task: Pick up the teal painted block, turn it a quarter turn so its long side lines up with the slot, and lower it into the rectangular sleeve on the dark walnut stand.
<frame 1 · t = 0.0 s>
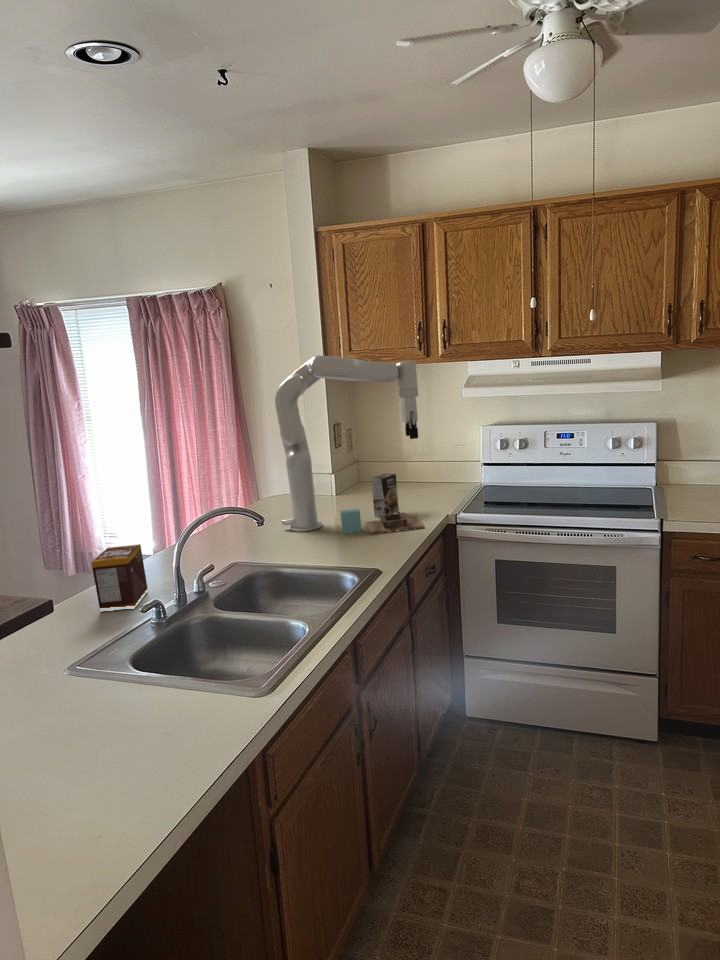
hand: (412, 437, 282), 31 cm above the countertop, tool pointing down, fingers open, 9 cm apart
keyed block: (352, 531, 272), on the countertop
coffee box: (387, 515, 293), on the countertop
supplement box: (125, 602, 217), on the countertop
keyed holder: (393, 526, 273), on the countertop
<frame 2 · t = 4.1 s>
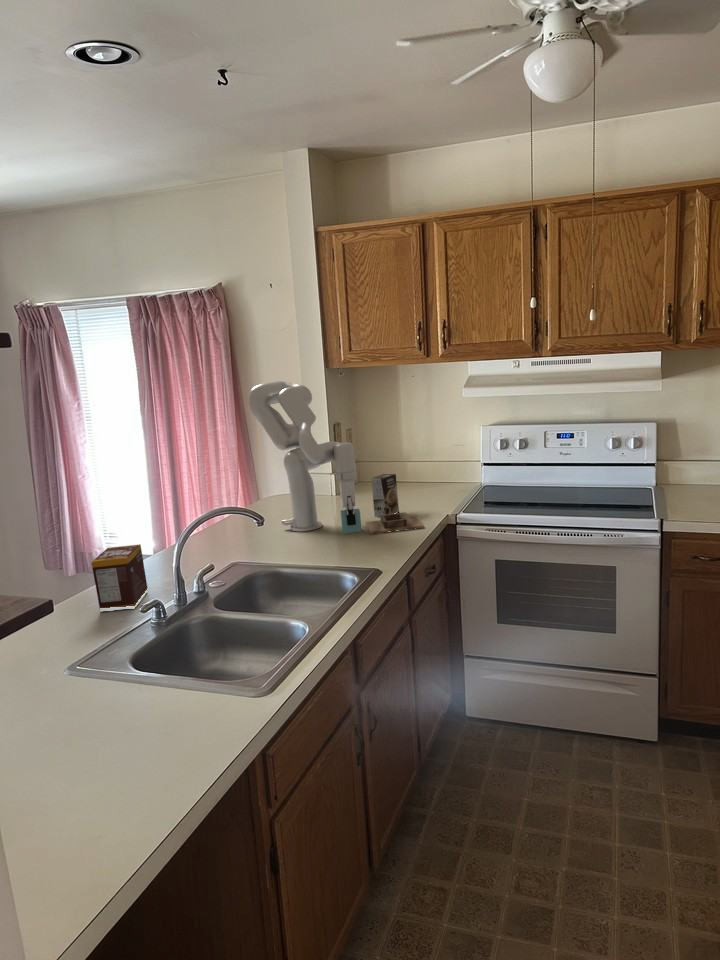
hand: (351, 522, 272), 3 cm above the countertop, tool pointing down, fingers closed on keyed block, 4 cm apart
keyed block: (352, 531, 272), on the countertop, touching gripper
everything else where it was.
when the fingers open (5 cm above the countertop, at t = 9.5 s): keyed block stays where it is, resting on keyed holder.
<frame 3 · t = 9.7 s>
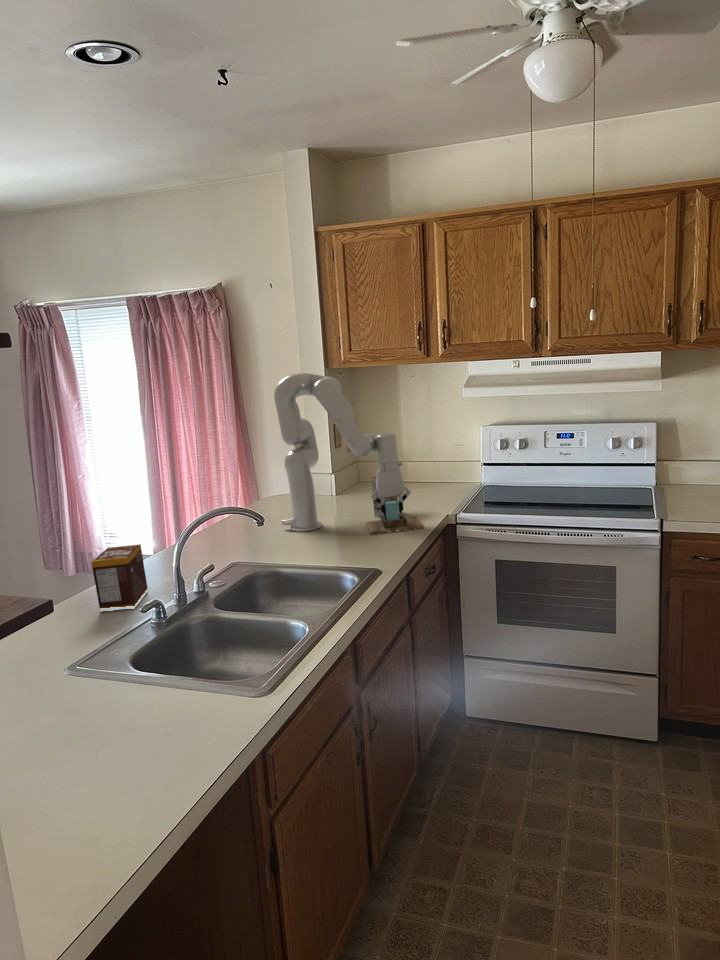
hand: (392, 513, 272), 5 cm above the countertop, tool pointing down, fingers open, 5 cm apart
keyed block: (393, 523, 273), point 1 cm above the countertop, touching keyed holder
everything else where it was.
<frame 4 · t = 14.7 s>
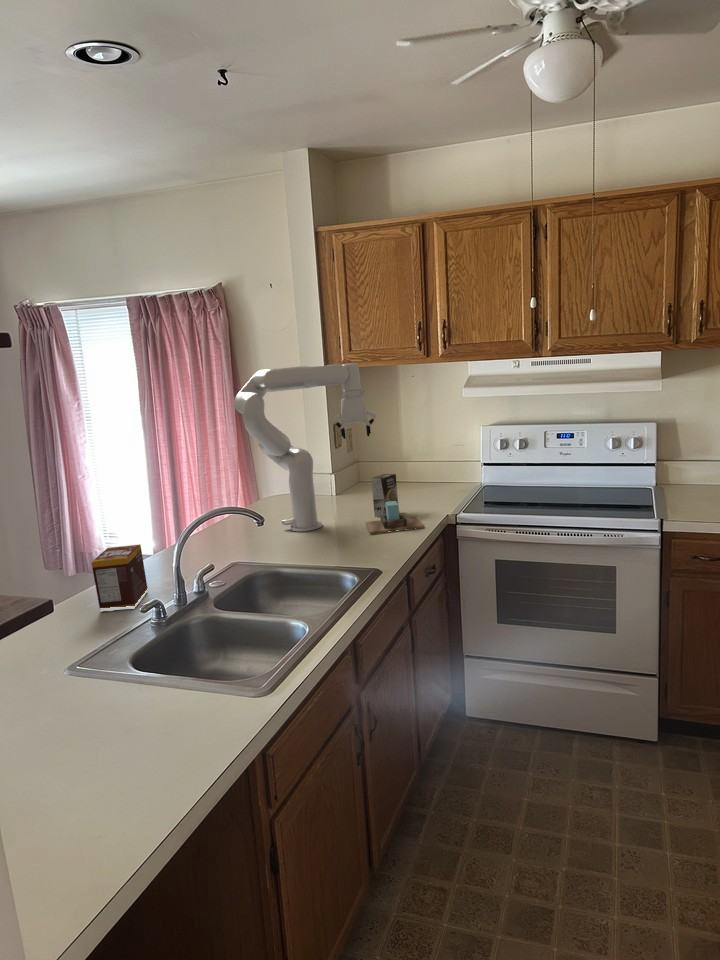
hand: (356, 437, 290), 32 cm above the countertop, tool pointing down, fingers open, 9 cm apart
nothing on the countertop moved.
at the end: keyed block 0.1 cm off-centre on the keyed holder, point 1.0 cm above the keyed holder's base; keyed block tilted 0°; the gripper is holding nothing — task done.
